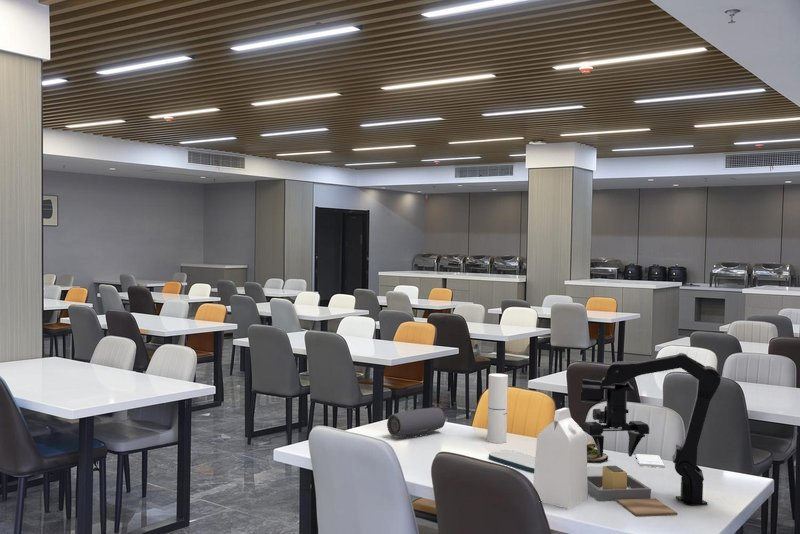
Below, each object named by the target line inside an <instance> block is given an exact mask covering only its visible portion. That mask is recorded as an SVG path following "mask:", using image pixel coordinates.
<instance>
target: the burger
mask: <svg viewBox="0 0 800 534" xmlns="http://www.w3.org/2000/svg"><path fill="white" fill-rule="evenodd" d="M606 458H607V459H608V460H609V455H607V454H606V453H604V452H603V455H602V457H600V456H599V453H598V450H597V448H596V444H595V442H594V441H589V440H588V441H587V462H589V461H591V462H600V461H603V460H605V459H606ZM607 459H606V460H607Z"/></svg>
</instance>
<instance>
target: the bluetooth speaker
mask: <svg viewBox="0 0 800 534" xmlns="http://www.w3.org/2000/svg"><path fill="white" fill-rule="evenodd" d="M445 423H446V417H445V414H444V411H443V410H442V409H441V407H425V408H424V407H423V408H416V409H412V410H406V411H400V412H397V413H393V414H391V415H389V416H388V418H387V423H386V427H387V431H388V433H389V434H390V436H393V437H405V436H406V437H405V438H407V437H411V438H416V437H415V436H417V437H421V436H420V435H423V436H426V435H425V434H427V435H428V433H429V432H432V431H433V432H434V431H436V430H440V429H442V428H443V427H444V426H445Z"/></svg>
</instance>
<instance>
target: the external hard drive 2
mask: <svg viewBox="0 0 800 534" xmlns="http://www.w3.org/2000/svg"><path fill="white" fill-rule="evenodd" d="M635 456H636V457H637V459H636V461H637V460H638V462H637V464H638V463H639V464H638V466H639V465H640V466H639V467H643V466H652V467H651V468H656V467H659V468H660V469H665V468H666V466H665V464H664V462H663V460H662V458H661V456H660V455H659V454H658V455H657V454H645V453H643V454H642V453H636V454H635V455H634V457H635ZM636 457H635V458H636ZM659 468H658V469H659Z"/></svg>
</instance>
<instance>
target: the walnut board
mask: <svg viewBox="0 0 800 534" xmlns="http://www.w3.org/2000/svg"><path fill="white" fill-rule="evenodd" d="M616 503H617V504H619V505H620V506H621V507H623V508H624V509H625V510H627V511H628V512H630V513H631V514H632V515H633V516H635V517H657V516H659V517H660V516H662V517H663V516H678V512H677V511H676V510H675V509H672V508H671V507H669V506H668V505H666V504H665V503H663V502H662V501H660V500H659V499H657V498H656V497H655V498H652V497H651V499H621V500H617V501H616Z"/></svg>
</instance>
